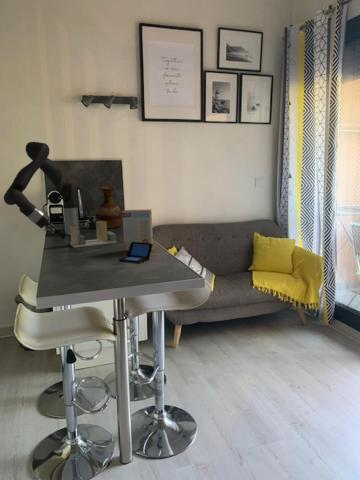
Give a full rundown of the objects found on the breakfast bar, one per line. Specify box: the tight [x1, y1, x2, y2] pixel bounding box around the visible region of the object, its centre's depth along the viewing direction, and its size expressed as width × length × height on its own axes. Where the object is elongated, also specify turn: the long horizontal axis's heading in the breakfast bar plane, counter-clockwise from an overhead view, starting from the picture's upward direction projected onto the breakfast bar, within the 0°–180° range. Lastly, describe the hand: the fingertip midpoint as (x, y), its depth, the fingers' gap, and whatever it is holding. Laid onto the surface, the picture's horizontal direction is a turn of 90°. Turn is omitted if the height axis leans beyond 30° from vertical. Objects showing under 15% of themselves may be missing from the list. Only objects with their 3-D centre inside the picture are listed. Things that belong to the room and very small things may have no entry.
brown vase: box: [94, 185, 123, 229], centre depth 276 cm, size 20×20×30 cm
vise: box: [69, 230, 118, 248], centre depth 218 cm, size 12×24×5 cm, turn 116°
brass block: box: [95, 221, 108, 242], centre depth 219 cm, size 5×5×11 cm
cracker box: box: [121, 208, 154, 253], centre depth 194 cm, size 14×6×21 cm, turn 84°
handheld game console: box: [118, 242, 154, 264], centre depth 175 cm, size 12×11×7 cm
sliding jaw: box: [70, 225, 86, 245], centre depth 214 cm, size 12×6×10 cm, turn 26°
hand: (64, 237), depth 211 cm, fingers closed
